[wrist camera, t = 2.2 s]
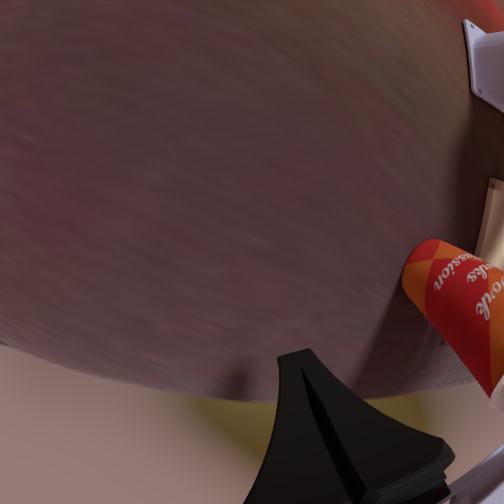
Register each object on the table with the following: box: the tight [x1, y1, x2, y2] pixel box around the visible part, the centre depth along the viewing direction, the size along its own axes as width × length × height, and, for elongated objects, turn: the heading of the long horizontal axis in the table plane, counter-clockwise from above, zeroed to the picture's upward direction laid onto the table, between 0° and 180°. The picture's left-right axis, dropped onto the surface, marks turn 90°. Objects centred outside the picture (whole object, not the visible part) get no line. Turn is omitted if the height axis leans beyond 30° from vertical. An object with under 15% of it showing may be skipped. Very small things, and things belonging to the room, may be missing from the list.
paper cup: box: [402, 239, 504, 413], centre depth 14 cm, size 8×8×14 cm
